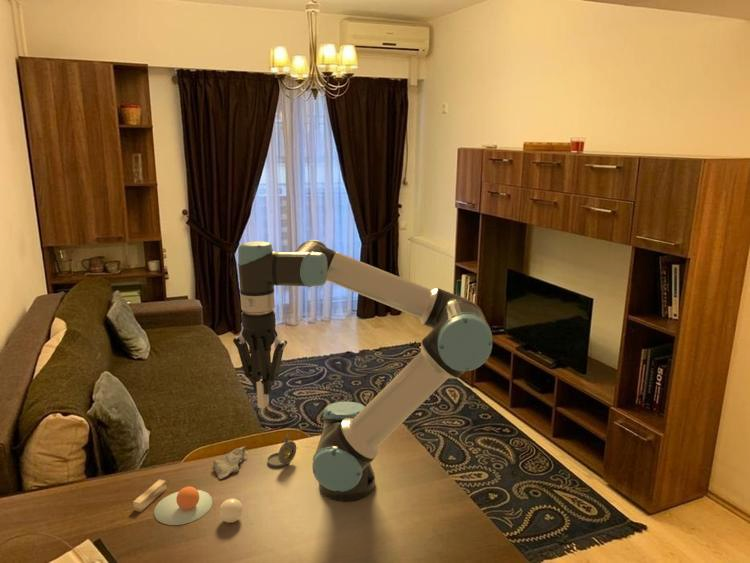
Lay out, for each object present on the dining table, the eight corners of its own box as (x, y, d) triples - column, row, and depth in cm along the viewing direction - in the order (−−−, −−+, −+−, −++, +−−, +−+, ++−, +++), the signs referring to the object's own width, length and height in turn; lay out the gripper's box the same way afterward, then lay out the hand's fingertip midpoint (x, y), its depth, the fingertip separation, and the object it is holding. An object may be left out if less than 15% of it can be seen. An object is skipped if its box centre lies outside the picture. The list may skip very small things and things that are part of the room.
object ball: (199, 481, 143) (193, 496, 145) (177, 482, 140) (172, 498, 142) (204, 498, 139) (197, 513, 141) (182, 500, 136) (176, 516, 138)
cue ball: (238, 490, 138) (235, 506, 140) (217, 497, 135) (214, 514, 137) (248, 506, 134) (244, 522, 137) (226, 514, 131) (223, 531, 133)
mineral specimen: (257, 466, 161) (257, 452, 160) (221, 481, 152) (221, 467, 151) (243, 457, 165) (244, 444, 164) (207, 472, 156) (208, 458, 155)
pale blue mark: (209, 485, 150) (209, 484, 150) (215, 516, 138) (215, 515, 138) (153, 497, 145) (153, 496, 145) (154, 531, 133) (154, 530, 132)
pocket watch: (270, 455, 165) (268, 424, 162) (298, 455, 165) (297, 424, 162) (264, 471, 157) (262, 439, 154) (293, 471, 157) (292, 439, 154)
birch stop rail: (160, 487, 149) (159, 479, 149) (166, 489, 149) (165, 480, 148) (134, 510, 140) (133, 501, 139) (140, 511, 139) (139, 503, 139)
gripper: (223, 312, 124) (230, 408, 130) (276, 317, 121) (281, 416, 126) (241, 303, 131) (247, 395, 137) (291, 308, 128) (295, 402, 133)
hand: (263, 405), depth 132 cm, fingers closed
